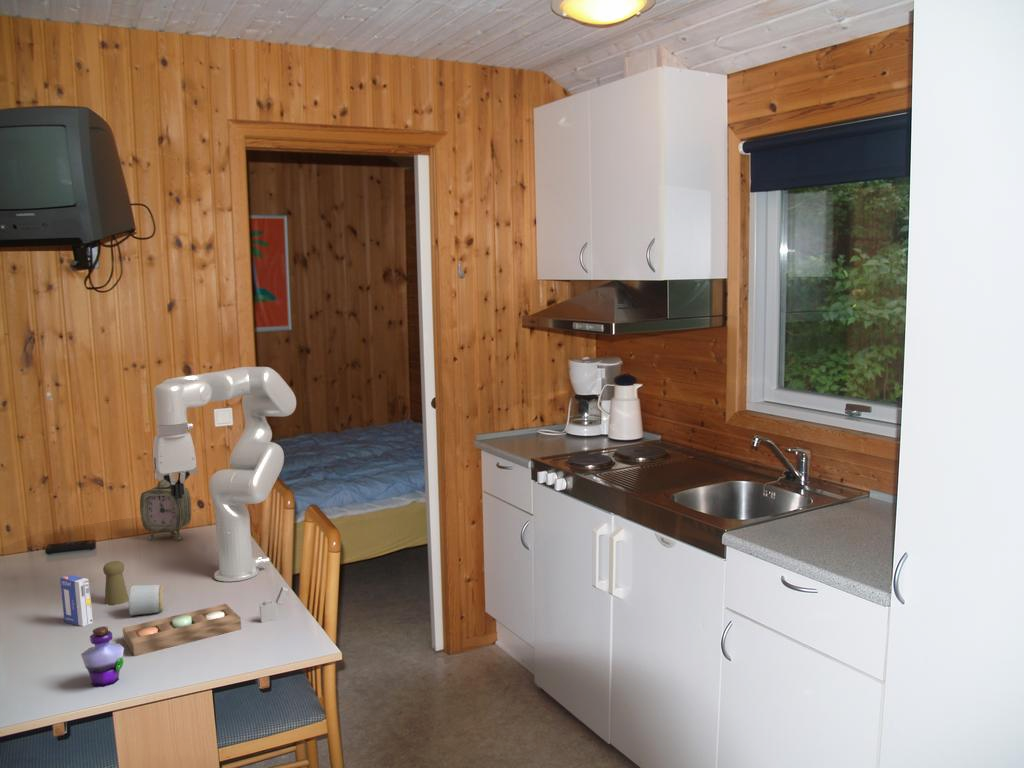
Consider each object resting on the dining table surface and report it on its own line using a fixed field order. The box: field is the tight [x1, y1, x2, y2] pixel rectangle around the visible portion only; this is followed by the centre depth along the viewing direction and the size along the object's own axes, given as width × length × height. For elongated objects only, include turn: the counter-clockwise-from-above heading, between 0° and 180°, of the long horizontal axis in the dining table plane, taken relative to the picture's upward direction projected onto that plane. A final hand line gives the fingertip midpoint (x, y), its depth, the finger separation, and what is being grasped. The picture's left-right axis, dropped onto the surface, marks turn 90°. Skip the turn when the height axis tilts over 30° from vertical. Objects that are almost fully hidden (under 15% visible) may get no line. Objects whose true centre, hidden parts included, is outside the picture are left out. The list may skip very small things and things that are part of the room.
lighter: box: [258, 586, 289, 624], centre depth 225 cm, size 7×2×8 cm, turn 115°
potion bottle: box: [80, 626, 125, 688], centre depth 192 cm, size 9×9×12 cm
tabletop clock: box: [139, 470, 192, 541], centre depth 300 cm, size 14×9×25 cm, turn 81°
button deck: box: [122, 603, 242, 657], centre depth 217 cm, size 25×12×3 cm, turn 125°
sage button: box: [172, 615, 192, 628], centre depth 217 cm, size 4×4×2 cm
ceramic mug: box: [128, 584, 166, 617], centre depth 234 cm, size 11×8×8 cm
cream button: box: [206, 611, 224, 620], centre depth 222 cm, size 4×4×2 cm
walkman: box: [59, 574, 94, 627], centre depth 227 cm, size 8×3×12 cm, turn 60°
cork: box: [102, 560, 129, 606], centre depth 241 cm, size 6×6×11 cm
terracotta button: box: [138, 627, 158, 637], centre depth 213 cm, size 4×4×2 cm
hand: (178, 497), depth 235 cm, fingers closed
